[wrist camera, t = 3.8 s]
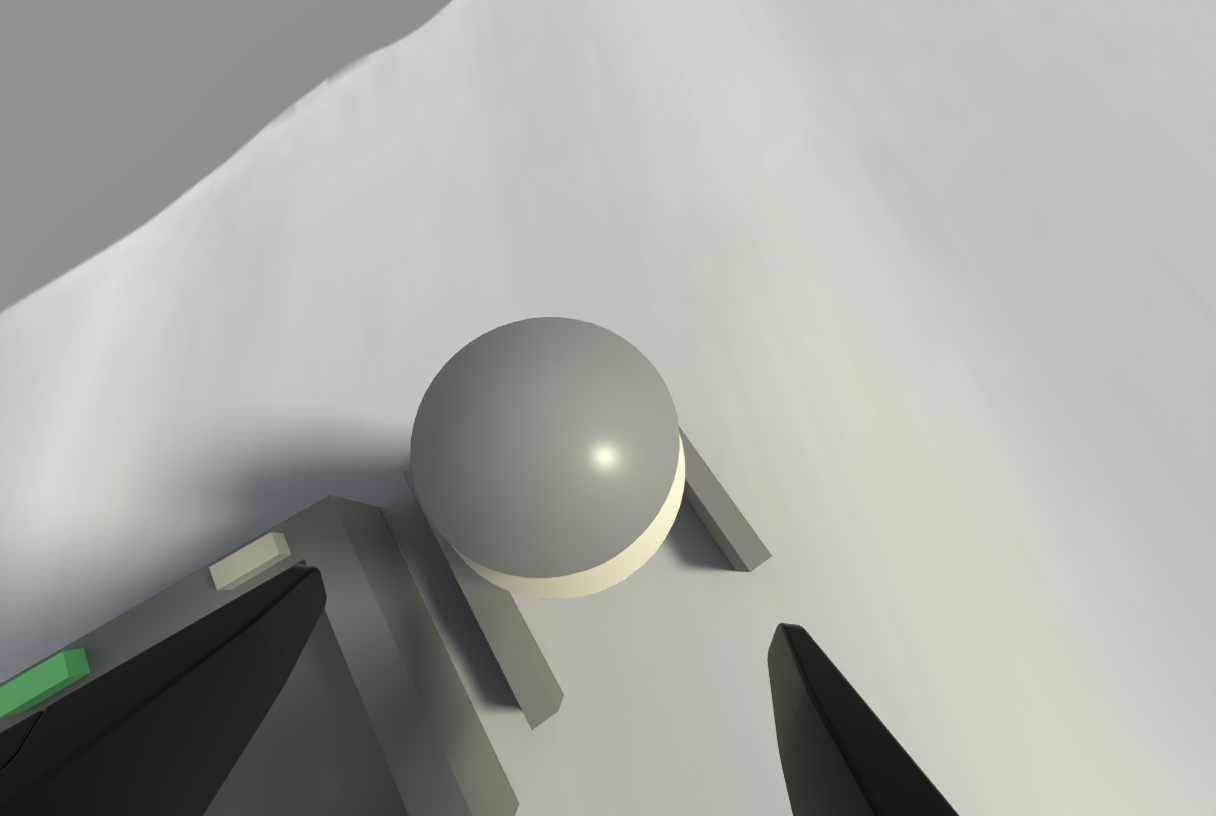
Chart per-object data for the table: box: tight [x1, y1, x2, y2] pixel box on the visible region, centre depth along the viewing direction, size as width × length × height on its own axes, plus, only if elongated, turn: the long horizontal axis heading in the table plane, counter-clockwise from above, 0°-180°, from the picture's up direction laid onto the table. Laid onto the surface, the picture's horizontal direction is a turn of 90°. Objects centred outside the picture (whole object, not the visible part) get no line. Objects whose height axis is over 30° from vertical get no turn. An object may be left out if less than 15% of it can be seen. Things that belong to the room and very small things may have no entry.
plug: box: [410, 317, 685, 600], centre depth 13 cm, size 5×5×13 cm
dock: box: [0, 495, 519, 816], centre depth 15 cm, size 12×12×4 cm
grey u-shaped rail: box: [403, 427, 772, 730], centre depth 18 cm, size 10×10×2 cm
